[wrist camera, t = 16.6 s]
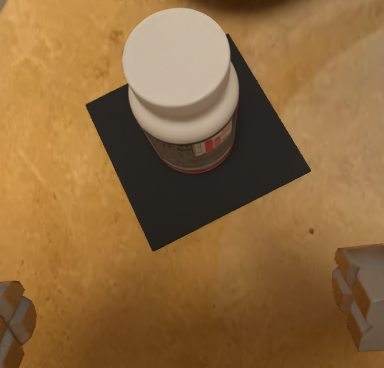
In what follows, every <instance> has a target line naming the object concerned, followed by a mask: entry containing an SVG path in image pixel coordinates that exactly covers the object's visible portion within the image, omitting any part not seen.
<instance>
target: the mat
mask: <svg viewBox="0 0 384 368" xmlns="http://www.w3.org/2000/svg"><path fill="white" fill-rule="evenodd" d="M226 37H227V40H228V43H229V47H230V61H231V63H232V64H233V66H234V69H235V71H236V74H237V77H238V84H239V100H238V108H237V117H236V127H235V138H234V142H233V146H232V148H231V150H230V152H229V154H228V156H227V157H226V158H225V159H224V160H223V161H222V162H221V163H220V164H219V165H218V166H216V167H215V168H213V169H211V170H209V171H206V172H202V173H195V174H193V173H184V172H180V171H177V170H175V169H173V168H171V167H170V166H168V165H167V164H166V163H165V162H164V161H163V160H162V159H161V158H160V156H159V155H158V153H157V152H156V150H155V148H154V147H153V145H152V144H151V142H150V140H149V139H148V137H147V135H146V134H145V132H144V131H143V129H142V128H141V126H140V125H139V123H138V121H137V120H136V118H135V116H134V114H133V112H132V109H131V106H130V102H129V84H126V85H124V86H122V87H120V88H118V89H116V90H114V91H112V92H110V93H108V94H106V95H104V96H102V97H100V98H98V99H96V100H94V101H92V102H90V103H88V104H86V108H87V110H88V112H89V114H90V116H91V118H92V121H93V123H94V125H95V127H96V129H97V132H98V134H99V136H100V138H101V140H102V142H103V145H104V147H105V149H106V151H107V153H108V155H109V158H110V160H111V162H112V164H113V166H114V169H115V171H116V173H117V175H118V177H119V179H120V182H121V184H122V186H123V188H124V190H125V192H126V195H127V197H128V199H129V201H130V203H131V205H132V208H133V210H134V212H135V214H136V216H137V219H138V221H139V223H140V225H141V227H142V229H143V232H144V234H145V236H146V238H147V240H148V242H149V245H150V247H151V249H152V251H155V250H157V249H159V248H161V247H163V246H165V245H167V244H169V243H171V242H173V241H175V240H177V239H179V238H181V237H183V236H185V235H187V234H189V233H191V232H193V231H195V230H197V229H199V228H201V227H202V226H204V225H206V224H208V223H210V222H212V221H214V220H216V219H218V218H220V217H222V216H224V215H226V214H228V213H230V212H232V211H234V210H236V209H238V208H240V207H242V206H244V205H246V204H248V203H250V202H252V201H254V200H255V199H257V198H259V197H261V196H263V195H265V194H267V193H269V192H271V191H273V190H275V189H277V188H279V187H281V186H283V185H285V184H287V183H289V182H291V181H293V180H295V179H297V178H299V177H301V176H303V175H305V174H307V173H308V172H310V171H311V169H310V168H309V166H308V165H307V163H306V161H305V160H304V158H303V156H302V155H301V153H300V151H299V150H298V148H297V146H296V145H295V143H294V141H293V140H292V138H291V136H290V135H289V133H288V131H287V130H286V128H285V127H284V125H283V123H282V122H281V120H280V118H279V117H278V115H277V113H276V112H275V110H274V108H273V107H272V105H271V103H270V102H269V100H268V98H267V97H266V95H265V93H264V92H263V90H262V88H261V87H260V85H259V84H258V82H257V80H256V79H255V77H254V75H253V74H252V72H251V70H250V69H249V67H248V65H247V64H246V62H245V60H244V59H243V57H242V55H241V54H240V52H239V50H238V49H237V47H236V46H235V44H234V42H233V41H232V39H231V37H230V36H229V34H226Z"/></svg>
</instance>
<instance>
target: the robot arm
mask: <svg viewBox="0 0 384 368" xmlns="http://www.w3.org/2000/svg"><path fill="white" fill-rule="evenodd" d="M335 261H336V264H337V266H338V267H337V268H336V269H335V270H334V271H333V273H332V288H333V294H334V297H335V300H336V303H337V305H338V307H339V310H341V311H342V312H343V313H345V314H346V315H347V316H348V321H347V328H348V330H349V332H350V334H351V337H352V339H353V341H354V343H355V346H356V348H357V350H358V352H364V351H382V350H384V243H381V244H371V245H362V246H353V247H343V248H338V249H337V251H336V253H335ZM24 290H25V289H24V288H23V286H22V285H21V283H20V282H19V281H5V282H0V368H19V366H20V363H21V361H22V358H23V356H24V350H23V347H22V345H24V344H25V343H26V342H27V341H28V340H29V339H30V338H31V337H32V334H33V332H34V329H35V326H36V317H37V314H36V310H35V306H34V304H33V303H32V301H31V300H29V299H27V298H26V297H24V296H22V295H23V293H24Z"/></svg>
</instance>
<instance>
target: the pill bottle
mask: <svg viewBox="0 0 384 368" xmlns="http://www.w3.org/2000/svg"><path fill="white" fill-rule="evenodd" d="M122 65H123V71H124V75H125V78H126V80H127V82H128V84H129V102H130V106H131V109H132V112H133V114H134V116H135V118H136V120H137V121H138V123H139V125H140V126H141V128H142V129H143V131H144V132H145V134H146V135H147V137H148V139H149V140H150V142H151V144H152V145H153V147H154V148H155V150H156V152H157V153H158V155H159V156H160V158H161V159H162V160H163V161H164V162H165V163H166V164H167V165H168V166H170V167H171V168H173V169H175V170H177V171H180V172H184V173H193V174H195V173H202V172H206V171H209V170H211V169H213V168H215V167H216V166H218V165H219V164H220V163H221V162H222V161H223V160H224V159H225V158H226V157H227V156H228V154H229V152H230V150H231V148H232V146H233V142H234V138H235V127H236V117H237V108H238V100H239V84H238V77H237V74H236V71H235V69H234V66H233V64H232V63H231V61H230V47H229V43H228V40H227V37H226V35H225V33H224V31H223V30H222V28H221V27H220V26H219V25H218V24H217V23H216V22H215V21H214V20H213V19H212V18H210V17H209V16H208V15H206V14H204V13H201V12H199V11H196V10H193V9H188V8H171V9H166V10H162V11H159V12H157V13H154V14H152V15H150V16H149V17H147V18H146V19H144V20H143V21H142V22H140V23H139V24H138V25H137V26H136V27H135V29H134V30H133V31H132V32H131V34H130V36H129V37H128V39H127V41H126V44H125V47H124V50H123V58H122Z"/></svg>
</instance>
